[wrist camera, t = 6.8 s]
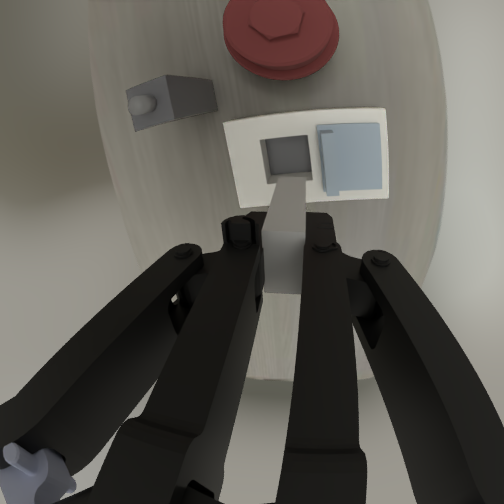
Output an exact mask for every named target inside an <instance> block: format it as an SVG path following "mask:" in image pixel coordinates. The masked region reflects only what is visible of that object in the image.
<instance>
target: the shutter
mask: <svg viewBox="0 0 504 504" xmlns="http://www.w3.org/2000/svg"><path fill="white" fill-rule="evenodd" d="M316 127H317V134H318V143H319V151H320V161H321V171H322V182H323V191H324V192H326V194H327V196H339V191H348V190H370V189H382V155H381V136H380V123H340V124H322V125H316Z"/></svg>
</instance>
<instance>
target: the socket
mask: <svg viewBox="0 0 504 504" xmlns="http://www.w3.org/2000/svg"><path fill="white" fill-rule="evenodd" d="M340 123H380V136H381V155H382V189H370V190H348V191H339V196H327V194H326V192H324V191H323V182H322V171H321V161H320V151H319V143H318V134H317V127H316V125H322V124H340ZM223 126H224V131H225V135H226V140H227V145H228V150H229V155H230V160H231V165H232V170H233V175H234V180H235V185H236V190H237V194H238V199H239V204H240V208H247V207H258V206H269V205H270V203H271V199H272V196H273V193H274V190H275V187H276V184H277V181H278V177H306V203H307V202H322V201H339V200H359V199H384V198H389V157H388V135H387V121H386V110H385V108H379V107H344V108H324V109H310V110H298V111H289V112H280V113H272V114H264V115H258V116H251V117H245V118H239V119H233V120H230V121H227V122H224V123H223Z"/></svg>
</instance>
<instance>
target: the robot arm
mask: <svg viewBox="0 0 504 504" xmlns="http://www.w3.org/2000/svg"><path fill="white" fill-rule="evenodd" d="M221 225H222V233H223V241H224V244H223V246H222V248H221V250H220V251H217V252H212V253H205V254H202V249H201V248H200V246H198V245H196V244H189V243H185V244H180V245H178V246H175V247H173V248H172V249H170V250H169V251H168V252H166V253H165V254H164V255H163V256H162V257H161V258H159V259H158V260H157V261H156V262H155V263H153V264H152V265H151V266H150V267H149V268H148V269H146V270H145V271H144V272H143V273H142V274H141V275H140V276H139V277H137V278H136V279H135V280H134V281H133V282H132V283H130V284H129V285H128V286H127V287H126V288H125V289H124V290H123V291H121V292H120V293H119V294H118V295H117V296H116V297H115V298H114V299H113V300H111V301H110V302H109V303H108V304H107V305H106V306H105V307H104V308H103V309H101V310H100V311H99V312H98V313H97V314H96V315H95V316H94V317H93V318H92V319H91V320H90V321H89V322H88V323H87V324H86V325H84V326H83V327H82V328H81V329H80V330H79V331H78V332H77V333H76V334H75V335H74V336H73V337H72V338H71V339H70V340H69V341H68V342H67V343H66V344H65V345H64V346H63V347H62V348H61V349H60V350H59V351H58V352H57V353H56V354H55V355H54V356H53V357H52V358H51V359H50V360H49V361H48V362H47V363H46V364H45V365H44V366H43V367H42V368H41V369H40V370H39V371H38V372H37V373H36V374H35V375H34V377H33V378H32V379H31V380H30V381H29V382H28V383H27V384H26V385H25V386H24V387H23V388H22V389H21V390H20V392H19V393H18V394H17V395H16V396H15V397H13V398H12V399H10V400H8V401H7V402H5V403H3V404H2V405H0V487H1V489H2V492H3V495H4V497H5V500H6V503H7V504H224V503H221V502H219V501H218V500H219V496H220V492H221V489H222V484H223V479H224V462H225V458H226V454H227V450H228V446H229V443H230V439H231V435H232V430H233V426H234V423H235V418H236V415H237V410H238V406H239V402H240V398H241V394H242V389H243V385H244V381H245V377H246V373H247V369H248V364H249V360H250V356H251V351H252V347H253V343H254V338H255V334H256V329H257V325H258V321H259V316H260V312H261V307H262V302H263V295H262V290H263V286H264V292H267V293H284V294H301V304H300V318H299V330H298V342H297V353H296V363H295V373H294V382H293V392H292V399H291V408H290V415H289V423H288V430H287V437H286V444H285V450H284V456H283V463H282V469H281V475H280V480H279V486H278V491H277V497H276V502H275V503H267V504H365V503H366V488H367V460H366V456H365V453H364V452H363V451H362V450H361V448H360V445H359V412H358V388H357V370H356V357H355V346H354V335H353V326H354V328H355V330H356V333H357V335H358V337H359V340H360V342H361V344H362V347H363V349H364V352H365V354H366V356H367V359H368V361H369V364H370V366H371V369H372V371H373V374H374V376H375V379H376V381H377V384H378V387H379V389H380V392H381V395H382V397H383V400H384V402H385V405H386V408H387V411H388V413H389V417H390V419H391V422H392V425H393V428H394V431H395V434H396V437H397V440H398V443H399V446H400V449H401V452H402V455H403V458H404V462H405V465H406V468H407V471H408V475H409V479H410V482H411V486H412V489H413V493H414V496H415V499H416V502H417V504H504V427H503V424H502V422H501V420H500V418H499V416H498V413H497V411H496V409H495V407H494V405H493V403H492V401H491V399H490V397H489V395H488V394H487V391H486V389H485V388H484V386H483V384H482V382H481V380H480V378H479V377H478V375H477V373H476V371H475V370H474V368H473V366H472V364H471V363H470V361H469V359H468V358H467V356H466V354H465V353H464V351H463V349H462V348H461V346H460V345H459V343H458V342H457V340H456V339H455V337H454V335H453V334H452V332H451V331H450V329H449V328H448V326H447V325H446V323H445V322H444V320H443V319H442V317H441V316H440V315H439V313H438V312H437V310H436V309H435V307H434V306H433V305H432V303H431V302H430V301H429V299H428V298H427V297H426V295H425V294H424V292H423V291H422V290H421V288H420V287H419V286H418V284H417V283H416V282H415V281H414V279H413V278H412V277H411V275H410V274H409V273H408V272H407V270H406V269H405V268H404V267H403V265H402V264H401V263H400V262H399V260H398V259H397V258H396V257H395V256H393V255H392V254H390V253H388V252H386V251H382V250H371V251H367V252H366V253H364V254H363V256H362V259H358V258H354V257H351V256H348V255H346V254H344V253H343V252H342V250H341V247H340V245H339V244H338V243H337V242H336V236H335V230H334V225H333V220H332V217H331V216H330V215H329V214H327V213H315V212H306V177H278V181H277V184H276V187H275V190H274V193H273V196H272V199H271V203H270V206H269V209H268V212H250V213H249V214H247V215H246V216H245V215H241V216H234V217H230V218H228V219H225V220H224V221H223V222H222V223H221ZM175 294H176V296H177V300H176V301H175V302H173V303H172V301H171V299H172V297H173V296H174V295H175ZM352 323H353V326H352ZM157 379H158V380H157ZM156 380H157V382H156V384H155V386H154V388H153V391H152V393H151V395H150V397H149V400H148V402H147V404H146V406H145V408H144V410H143V412H142V414H141V415H140V416H138V417H135V418H130V419H128V420H126V421H125V419H126V418H127V417H128V416H129V414H130V413H131V412H132V410H133V409H134V408H135V407H136V405H137V404H138V403H139V402H140V400H141V399H142V398H143V397H144V395H145V394H146V393H147V392H148V390H149V389H150V388H151V387H152V385H153V384H154V383H155V381H156ZM124 421H125V422H124ZM123 422H124V423H123ZM122 423H123V424H122ZM120 426H121V427H120ZM119 427H120V428H119ZM118 428H119V430H118ZM117 430H118V431H117ZM116 431H117V433H116V436H115V438H114V440H113V442H112V445H111V447H110V449H109V451H108V453H107V456H106V458H105V460H104V463H103V465H102V467H101V470H100V472H99V474H98V477H97V479H96V482H95V484H94V486H92V487H90V488H87V489H85V490H83V491H81V492H79V493H77V494H74V495H72V496H69V497H67V498H65V499H62V500H60V498H61V497H62V496H63V495H64V494H65V493H73V492H74V491H75V490H76V482H75V480H74V479H73V478H72V477H71V476H73V475H74V474H76V473H77V472H79V471H80V470H82V469H83V468H84V467H85V466H87V465H88V464H89V463H90V462H91V461H92V460H93V459H94V458H95V457H96V455H97V454H98V453H99V452H100V451H101V450H102V449H103V447H104V446H105V445H106V443H107V442H108V441H109V439H110V438H111V437H112V436H113V435H114V433H115V432H116Z"/></svg>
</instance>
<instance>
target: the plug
mask: <svg viewBox="0 0 504 504" xmlns="http://www.w3.org/2000/svg"><path fill="white" fill-rule="evenodd" d="M126 93H127V98H128V110H129V112H130V113H131V116H132V120H133V125H134V129H135V132H136V131H139V130H142V129H146V128H149V127H152V126H156V125H160V124H163V123H167V122H171V121H175V120H179V119H183V118H187V117H191V116H195V115H200V114H204V113H208V112H213V111H217V110H218V108H217V103H216V98H215V93H214V88H213V83H212V80H208V79H200V78H192V77H183V76H172V75H164V76H161V77H158V78H155V79H153V80H150V81H147V82H145V83H142V84H140V85H137V86H135V87H132V88H130V89H128V90H126Z"/></svg>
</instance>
